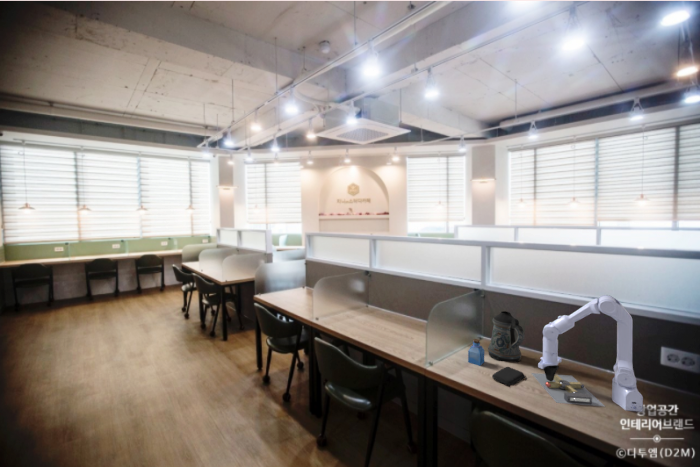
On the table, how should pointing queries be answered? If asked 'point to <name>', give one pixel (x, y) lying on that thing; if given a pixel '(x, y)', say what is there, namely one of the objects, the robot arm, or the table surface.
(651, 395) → the table surface
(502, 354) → the beer stein
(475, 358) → the perfume bottle
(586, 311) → the robot arm
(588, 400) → the level window
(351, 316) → the table surface
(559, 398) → the level board
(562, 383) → the cam capstan
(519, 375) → the carrying case or bag
